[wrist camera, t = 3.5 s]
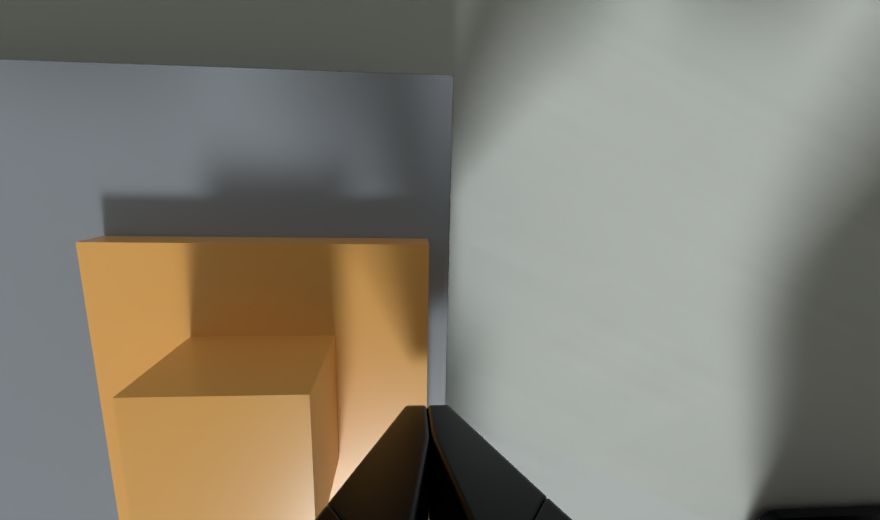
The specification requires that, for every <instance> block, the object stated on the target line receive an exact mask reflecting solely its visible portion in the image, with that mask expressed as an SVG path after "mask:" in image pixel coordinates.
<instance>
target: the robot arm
mask: <svg viewBox="0 0 880 520" xmlns="http://www.w3.org/2000/svg"><path fill="white" fill-rule="evenodd" d="M428 518H429V520H572V519H571V518H570V517H568V516H567V515H566V514H565V513H564V512H563V511H562V510H561V509H560V508H558V507H557V506H556V505H555V504H554V503H553V502H552V501H551V500H550V499H546V496H545V495H544V494H543V493H542V492H541V491H540V490H539V489H538V488H537V487H536V486H534V485H533V484H532V483H531V482H530V481H529V480H528V479H527V478H526V477H525V476H524V475H523V474H522V473H520V472H519V471H518V470H517V469H516V468H515V467H514V466H513V465H512V464H511V463H510V462H509V461H508V460H506V459H505V458H504V457H503V456H502V455H501V454H500V453H499V452H498V451H497V450H496V449H495V448H493V447H492V446H491V445H490V444H489V443H488V442H487V441H486V440H485V439H484V438H483V437H482V436H481V435H479V434H478V433H477V432H476V431H475V430H474V429H473V428H472V427H471V426H470V425H469V424H468V423H467V422H465V421H464V420H463V419H462V418H461V417H460V416H459V415H458V414H457V413H456V412H455V411H454V410H453V409H451V408H450V407H449V406H448V405H430V406H428V407H427V408H426V406H424V405H408V406H406V407H404V409H403V410H402V411H401V412H400V414H399V415H398V416H397V417H396V419H395V420H394V421H393V422H392V424H391V425H390V426H389V428H388V429H387V430H386V431H385V433H384V434H383V435H382V436H381V438H380V439H379V440H378V441H377V443H376V444H375V445H374V446H373V448H372V449H371V450H370V451H369V453H368V454H367V455H366V456H365V458H364V459H363V460H362V461H361V463H360V464H359V465H358V466H357V468H356V469H355V470H354V471H353V473H352V474H351V475H350V476H349V478H348V479H347V480H346V481H345V483H344V484H343V485H342V486H341V488H340V489H339V490H338V491H337V493H336V494H335V495H334V496H333V498H332V499H331V500H330V501H329V503H328V504H327V506H326V507H324V509H323V510H322V511H321V512H320V514H319V515H318V516H317V517H316V519H315V520H428ZM760 520H880V506H859V507H833V508H807V509H781V510H770V511H768V512H766V513H764V514H763V515H762V516H761V517H760Z"/></svg>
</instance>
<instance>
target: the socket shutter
mask: <svg viewBox="0 0 880 520" xmlns="http://www.w3.org/2000/svg"><path fill="white" fill-rule="evenodd" d="M76 249H77V255H78V262H79V268H80V274H81V281H82V287H83V294H84V300H85V306H86V313H87V319H88V325H89V332H90V338H91V345H92V351H93V357H94V364H95V370H96V377H97V383H98V389H99V396H100V402H101V409H102V415H103V421H104V428H105V434H106V441H107V447H108V453H109V460H110V466H111V473H112V479H113V485H114V492H115V498H116V505H117V511H118V517H119V520H315V519H316V517H317V516H318V515H319V514H320V512H321V511H322V510H323V509H324V507H326V506H327V504H328V503H329V501H330V500H331V499H332V498H333V496H334V495H335V494H336V493H337V491H338V490H339V489H340V488H341V486H342V485H343V484H344V483H345V481H346V480H347V479H348V478H349V476H350V475H351V474H352V473H353V471H354V470H355V469H356V468H357V466H358V465H359V464H360V463H361V461H362V460H363V459H364V458H365V456H366V455H367V454H368V453H369V451H370V450H371V449H372V448H373V446H374V445H375V444H376V443H377V441H378V440H379V439H380V438H381V436H382V435H383V434H384V433H385V431H386V430H387V429H388V428H389V426H390V425H391V424H392V422H393V421H394V420H395V419H396V417H397V416H398V415H399V414H400V412H401V411H402V410H403V409H404V407H406V406H408V405H424V406H426V408H427V355H428V289H429V242H428V239H421V238H303V237H185V236H100V237H96V238H91V239H87V240H83V241H78V242H76Z"/></svg>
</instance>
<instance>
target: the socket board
mask: <svg viewBox="0 0 880 520" xmlns="http://www.w3.org/2000/svg"><path fill="white" fill-rule="evenodd" d="M452 109H453V75H426V74H398V73H370V72H342V71H313V70H285V69H257V68H229V67H200V66H172V65H144V64H116V63H87V62H59V61H31V60H3V59H0V520H119V517H118V511H117V505H116V498H115V492H114V485H113V479H112V473H111V466H110V460H109V453H108V447H107V441H106V434H105V428H104V421H103V415H102V409H101V402H100V396H99V389H98V383H97V377H96V370H95V364H94V357H93V351H92V345H91V338H90V332H89V325H88V319H87V313H86V306H85V300H84V294H83V287H82V281H81V274H80V268H79V262H78V255H77V249H76V242H78V241H83V240H87V239H91V238H96V237H100V236H185V237H303V238H421V239H428V242H429V289H428V355H427V407H428V406H430V405H445V392H446V352H447V311H448V271H449V230H450V190H451V150H452ZM428 520H429V518H428Z"/></svg>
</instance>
